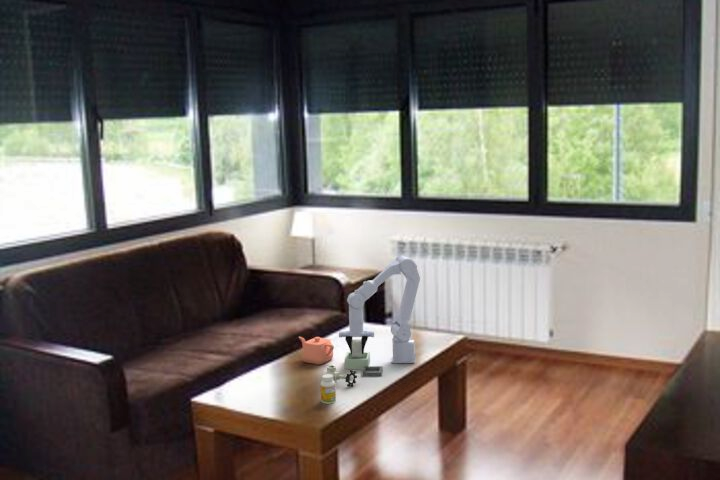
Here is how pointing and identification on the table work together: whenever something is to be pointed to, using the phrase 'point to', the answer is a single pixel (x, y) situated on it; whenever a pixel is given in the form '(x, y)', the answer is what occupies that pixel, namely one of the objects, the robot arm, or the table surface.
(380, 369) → the socket
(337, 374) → the valve
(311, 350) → the teapot
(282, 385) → the table surface
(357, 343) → the strut
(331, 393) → the supplement bottle
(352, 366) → the bin
